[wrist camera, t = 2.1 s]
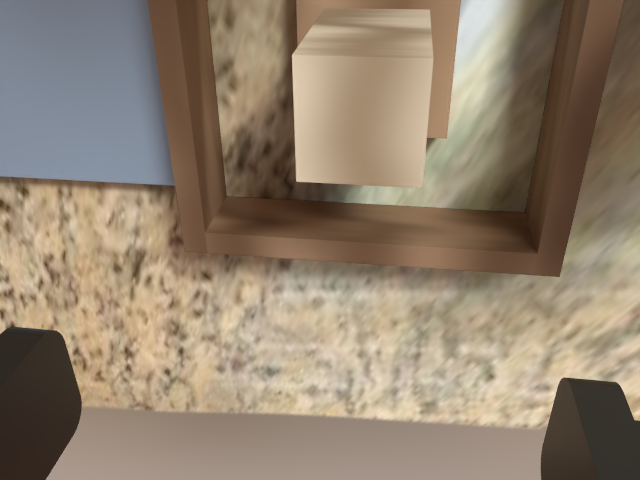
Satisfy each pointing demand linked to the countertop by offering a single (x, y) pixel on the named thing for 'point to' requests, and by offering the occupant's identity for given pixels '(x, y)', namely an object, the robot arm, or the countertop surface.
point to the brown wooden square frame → (422, 222)
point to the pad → (81, 93)
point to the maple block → (363, 97)
